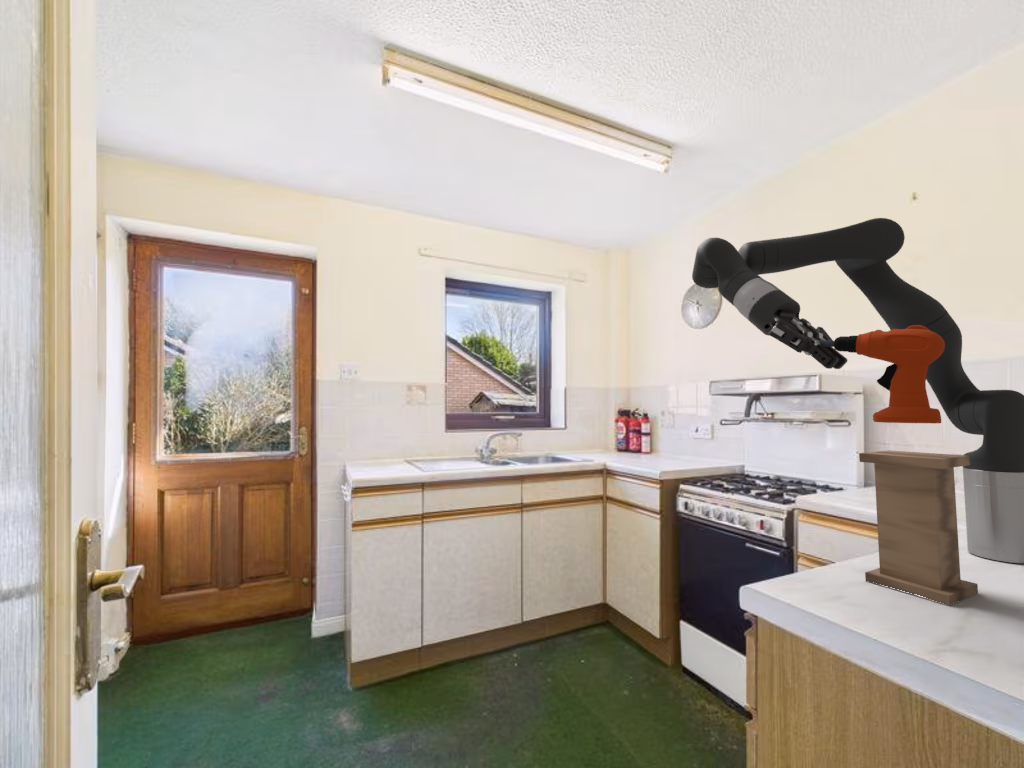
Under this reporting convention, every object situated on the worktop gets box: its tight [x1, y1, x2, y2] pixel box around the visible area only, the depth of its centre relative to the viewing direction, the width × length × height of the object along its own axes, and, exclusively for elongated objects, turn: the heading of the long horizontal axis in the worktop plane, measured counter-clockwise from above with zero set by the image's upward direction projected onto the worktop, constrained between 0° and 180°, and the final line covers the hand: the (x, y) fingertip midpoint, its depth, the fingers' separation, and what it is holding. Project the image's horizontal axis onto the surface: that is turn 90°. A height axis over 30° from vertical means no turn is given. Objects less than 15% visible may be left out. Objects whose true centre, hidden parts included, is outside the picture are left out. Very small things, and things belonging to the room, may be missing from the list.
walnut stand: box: [858, 450, 979, 606], centre depth 75 cm, size 10×11×22 cm
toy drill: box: [818, 325, 945, 424], centre depth 71 cm, size 5×19×15 cm, turn 39°
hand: (838, 364), depth 74 cm, fingers closed on toy drill
